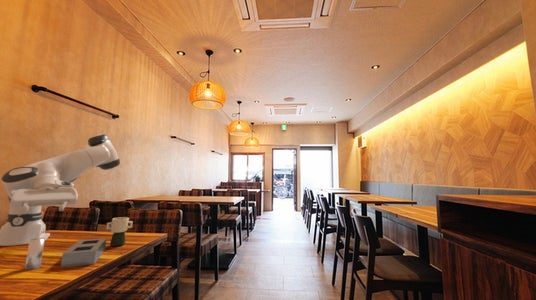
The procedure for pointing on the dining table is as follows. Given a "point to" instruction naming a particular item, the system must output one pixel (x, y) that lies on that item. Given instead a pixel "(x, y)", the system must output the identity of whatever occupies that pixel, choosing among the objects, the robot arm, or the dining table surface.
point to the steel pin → (34, 253)
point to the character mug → (119, 230)
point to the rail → (83, 253)
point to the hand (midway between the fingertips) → (45, 211)
